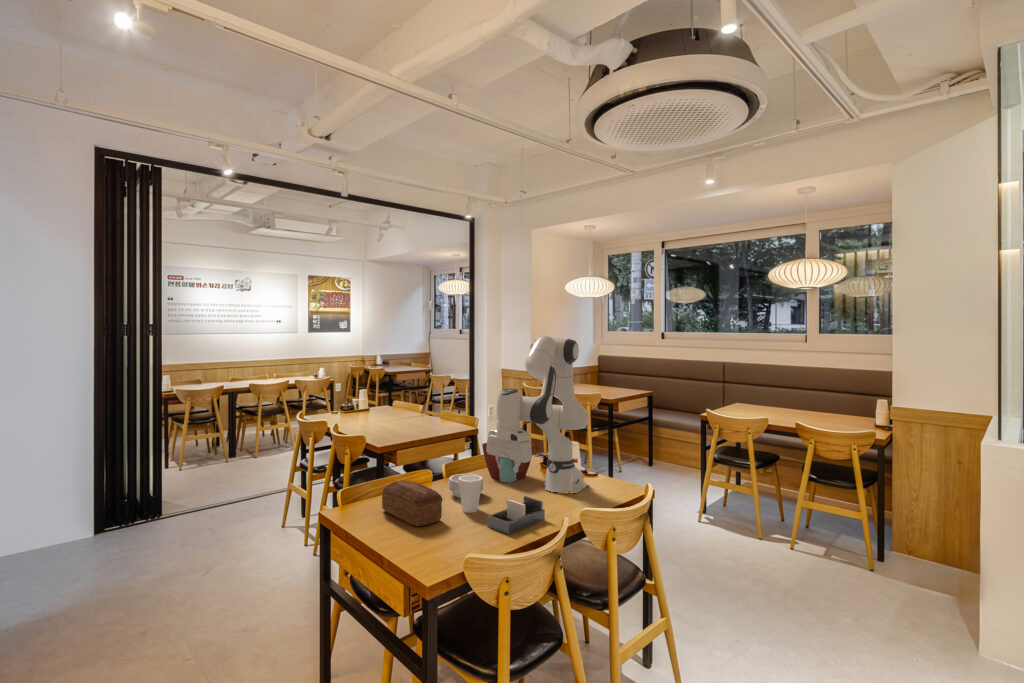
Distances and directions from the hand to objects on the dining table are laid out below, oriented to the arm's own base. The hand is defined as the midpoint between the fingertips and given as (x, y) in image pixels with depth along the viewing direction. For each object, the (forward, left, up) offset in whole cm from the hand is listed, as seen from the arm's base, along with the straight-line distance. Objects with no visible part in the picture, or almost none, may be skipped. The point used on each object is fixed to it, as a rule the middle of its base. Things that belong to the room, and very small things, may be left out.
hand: (507, 470), depth 181 cm
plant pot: (-46, -44, -21) cm, 67 cm away
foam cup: (-2, -23, -21) cm, 31 cm away
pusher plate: (-5, 0, -20) cm, 20 cm away
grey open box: (-5, 0, -21) cm, 22 cm away
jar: (0, 0, -4) cm, 4 cm away
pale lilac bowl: (-13, -38, -21) cm, 46 cm away
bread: (+19, -34, -22) cm, 44 cm away
